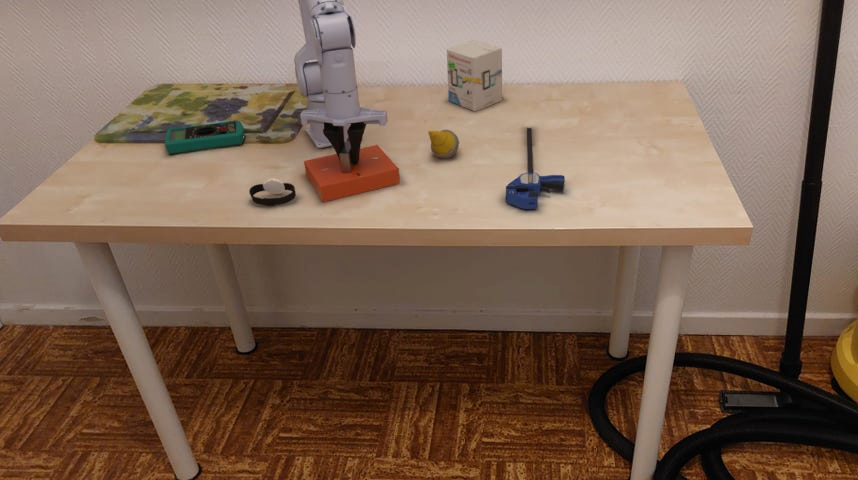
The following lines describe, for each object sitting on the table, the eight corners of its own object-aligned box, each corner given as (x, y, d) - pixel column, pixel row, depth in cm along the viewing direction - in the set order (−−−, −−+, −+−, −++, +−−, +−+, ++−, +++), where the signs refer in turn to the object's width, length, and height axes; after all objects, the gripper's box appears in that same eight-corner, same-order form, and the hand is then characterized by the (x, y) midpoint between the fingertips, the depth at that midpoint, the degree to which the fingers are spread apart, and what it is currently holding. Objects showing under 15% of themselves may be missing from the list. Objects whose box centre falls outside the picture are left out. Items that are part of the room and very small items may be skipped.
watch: (298, 192, 129) (295, 174, 127) (294, 206, 125) (290, 187, 123) (254, 194, 129) (250, 176, 127) (248, 208, 125) (244, 189, 123)
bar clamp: (567, 197, 119) (505, 197, 120) (567, 210, 121) (505, 210, 121) (558, 122, 146) (508, 122, 147) (558, 133, 148) (508, 134, 148)
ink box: (447, 101, 161) (445, 48, 154) (476, 90, 165) (474, 38, 159) (474, 112, 155) (473, 57, 149) (503, 100, 160) (503, 47, 153)
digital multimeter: (245, 145, 146) (242, 131, 144) (167, 156, 143) (163, 142, 141) (245, 130, 152) (242, 117, 150) (169, 140, 149) (165, 127, 147)
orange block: (323, 202, 126) (320, 185, 124) (306, 175, 134) (303, 160, 132) (400, 183, 130) (398, 167, 129) (379, 159, 139) (377, 143, 137)
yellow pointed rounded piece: (467, 157, 139) (444, 138, 130) (442, 167, 141) (418, 149, 132) (461, 132, 141) (438, 112, 132) (437, 143, 142) (412, 123, 134)
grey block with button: (350, 172, 128) (348, 152, 126) (341, 172, 128) (338, 152, 126) (358, 156, 133) (356, 136, 131) (349, 156, 133) (347, 136, 131)
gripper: (290, 96, 120) (303, 171, 128) (378, 96, 119) (386, 172, 126) (302, 80, 126) (314, 153, 133) (386, 81, 124) (393, 154, 132)
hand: (350, 161), depth 130 cm, fingers closed on grey block with button, 2 cm apart
